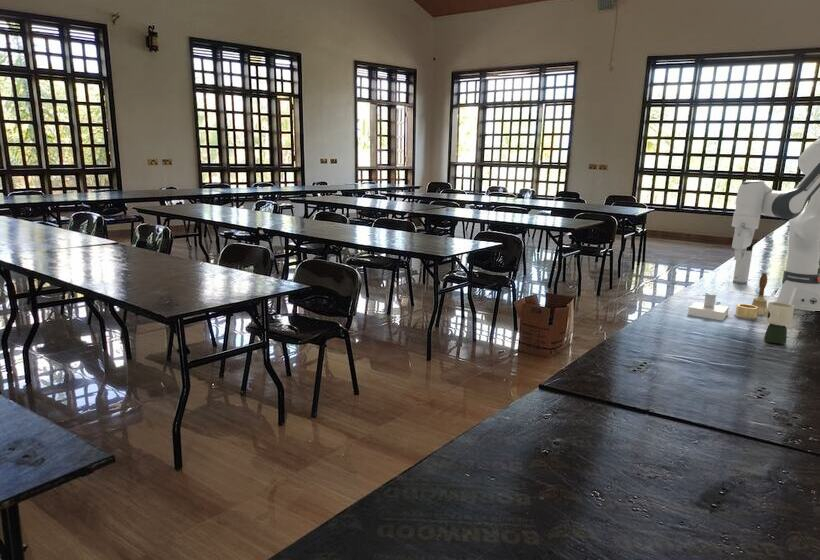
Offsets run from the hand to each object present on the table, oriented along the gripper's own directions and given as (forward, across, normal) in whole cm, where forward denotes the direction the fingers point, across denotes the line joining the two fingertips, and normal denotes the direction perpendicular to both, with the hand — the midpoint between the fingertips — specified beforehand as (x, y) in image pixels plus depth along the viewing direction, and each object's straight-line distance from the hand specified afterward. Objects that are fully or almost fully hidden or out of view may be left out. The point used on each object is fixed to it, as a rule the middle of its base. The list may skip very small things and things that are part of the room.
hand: (739, 259), depth 221 cm
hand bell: (+21, +12, -8) cm, 26 cm away
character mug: (+23, -32, -19) cm, 43 cm away
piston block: (+22, -7, +6) cm, 24 cm away
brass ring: (+22, +1, -6) cm, 22 cm away
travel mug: (+19, +75, +8) cm, 77 cm away
